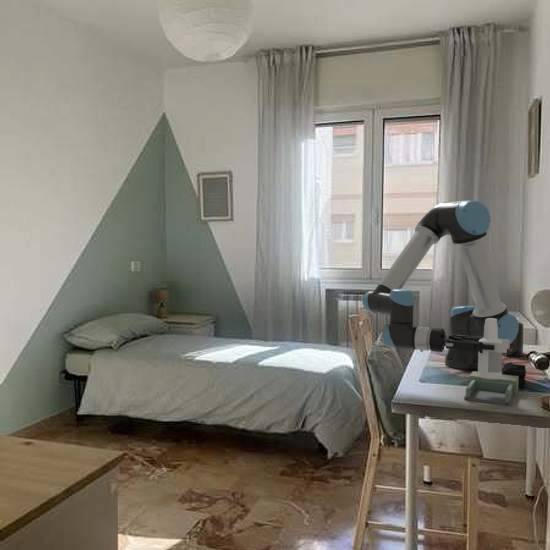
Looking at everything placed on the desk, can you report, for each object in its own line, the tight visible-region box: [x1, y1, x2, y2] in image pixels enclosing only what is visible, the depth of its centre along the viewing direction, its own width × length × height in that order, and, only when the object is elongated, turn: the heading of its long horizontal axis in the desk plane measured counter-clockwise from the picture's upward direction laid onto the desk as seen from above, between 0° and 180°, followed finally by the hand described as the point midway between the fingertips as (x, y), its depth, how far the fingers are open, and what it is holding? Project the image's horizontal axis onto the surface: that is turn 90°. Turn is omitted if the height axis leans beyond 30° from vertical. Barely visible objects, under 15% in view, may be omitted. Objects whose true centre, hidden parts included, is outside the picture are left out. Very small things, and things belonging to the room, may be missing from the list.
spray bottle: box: [477, 318, 503, 379], centre depth 167 cm, size 7×7×18 cm
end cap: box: [502, 361, 527, 390], centre depth 183 cm, size 10×7×7 cm
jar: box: [502, 317, 524, 356], centre depth 234 cm, size 12×12×15 cm
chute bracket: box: [463, 370, 519, 406], centre depth 171 cm, size 20×14×4 cm
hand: (508, 346), depth 165 cm, fingers closed on spray bottle, 7 cm apart
